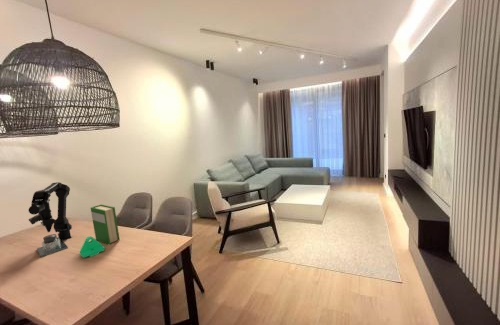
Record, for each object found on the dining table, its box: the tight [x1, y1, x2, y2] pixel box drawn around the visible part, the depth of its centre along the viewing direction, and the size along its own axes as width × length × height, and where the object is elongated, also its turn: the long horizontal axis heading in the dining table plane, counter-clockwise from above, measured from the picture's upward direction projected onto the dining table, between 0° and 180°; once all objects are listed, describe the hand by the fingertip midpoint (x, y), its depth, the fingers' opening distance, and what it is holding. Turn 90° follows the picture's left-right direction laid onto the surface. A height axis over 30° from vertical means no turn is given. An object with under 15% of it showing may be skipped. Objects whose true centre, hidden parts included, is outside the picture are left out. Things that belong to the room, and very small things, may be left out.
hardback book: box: [90, 204, 120, 245], centre depth 171 cm, size 18×7×24 cm, turn 57°
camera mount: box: [79, 236, 106, 258], centre depth 153 cm, size 12×8×10 cm, turn 136°
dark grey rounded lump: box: [43, 233, 58, 243], centre depth 164 cm, size 7×7×6 cm
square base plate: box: [36, 237, 69, 258], centre depth 164 cm, size 14×16×6 cm
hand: (49, 232), depth 163 cm, fingers closed
